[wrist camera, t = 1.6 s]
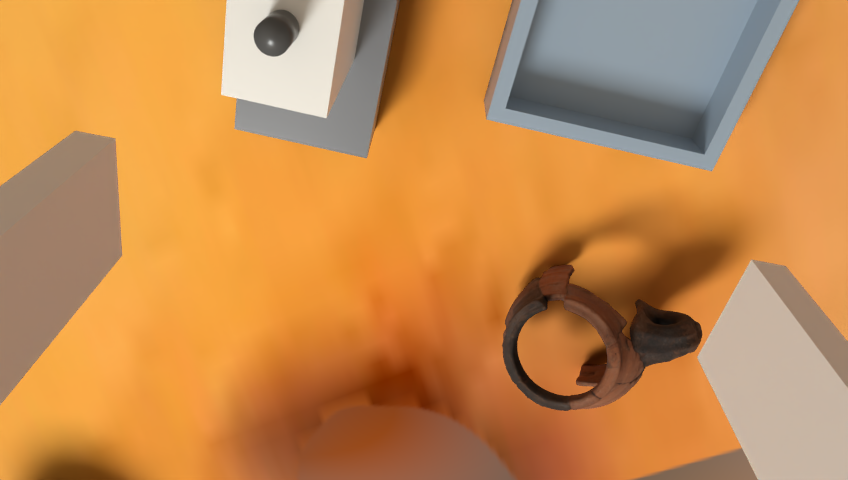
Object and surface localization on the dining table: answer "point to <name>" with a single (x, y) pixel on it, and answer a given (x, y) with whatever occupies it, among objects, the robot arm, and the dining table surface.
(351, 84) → the power strip
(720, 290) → the dining table surface
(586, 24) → the tray
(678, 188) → the dining table surface
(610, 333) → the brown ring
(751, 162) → the dining table surface
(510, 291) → the dining table surface
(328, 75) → the charger
